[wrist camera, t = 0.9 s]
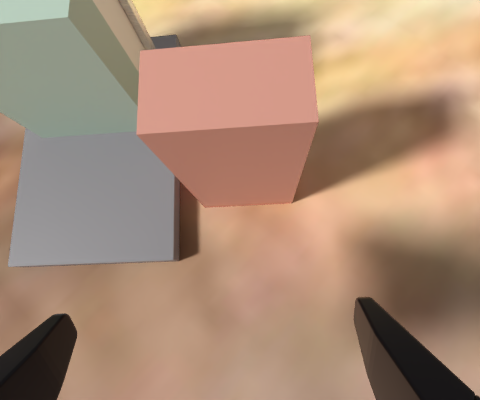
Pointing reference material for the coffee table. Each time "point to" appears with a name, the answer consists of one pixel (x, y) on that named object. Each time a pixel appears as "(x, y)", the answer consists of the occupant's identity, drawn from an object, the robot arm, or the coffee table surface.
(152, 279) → the coffee table surface
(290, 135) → the block
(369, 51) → the coffee table surface
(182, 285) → the coffee table surface
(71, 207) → the shelf board
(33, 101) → the book row
